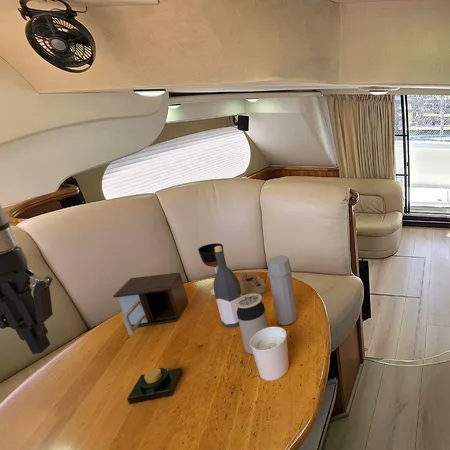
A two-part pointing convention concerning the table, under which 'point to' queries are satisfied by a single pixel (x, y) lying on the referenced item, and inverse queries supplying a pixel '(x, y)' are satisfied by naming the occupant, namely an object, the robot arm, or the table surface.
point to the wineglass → (209, 256)
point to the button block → (155, 386)
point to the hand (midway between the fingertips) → (41, 349)
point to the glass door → (134, 311)
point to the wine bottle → (226, 290)
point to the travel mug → (251, 317)
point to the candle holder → (270, 352)
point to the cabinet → (158, 296)
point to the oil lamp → (251, 284)
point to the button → (152, 375)
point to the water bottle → (282, 289)
